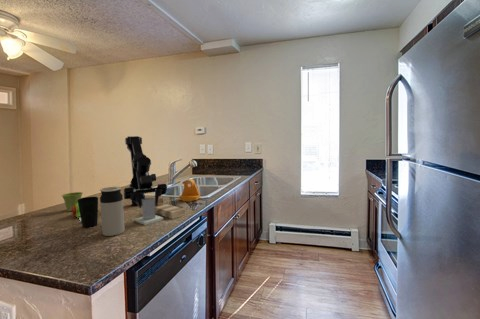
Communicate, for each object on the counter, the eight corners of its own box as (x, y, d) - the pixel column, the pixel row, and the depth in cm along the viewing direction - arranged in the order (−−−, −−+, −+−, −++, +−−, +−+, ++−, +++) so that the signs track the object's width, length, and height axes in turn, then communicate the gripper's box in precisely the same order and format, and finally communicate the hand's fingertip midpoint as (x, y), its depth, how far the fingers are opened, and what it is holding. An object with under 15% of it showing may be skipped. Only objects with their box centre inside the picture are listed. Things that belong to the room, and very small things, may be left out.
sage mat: (134, 220, 117) (134, 218, 117) (152, 216, 124) (152, 214, 124) (145, 225, 111) (144, 222, 111) (163, 219, 118) (163, 217, 118)
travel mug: (110, 238, 97) (106, 191, 96) (98, 234, 102) (95, 189, 100) (128, 231, 104) (126, 187, 103) (117, 228, 108) (114, 185, 107)
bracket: (178, 201, 152) (177, 181, 150) (183, 198, 159) (182, 179, 158) (196, 201, 150) (195, 181, 149) (200, 198, 157) (199, 179, 156)
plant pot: (58, 211, 135) (57, 195, 135) (76, 206, 144) (74, 191, 143) (71, 213, 132) (69, 196, 131) (87, 208, 141) (86, 192, 140)
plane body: (149, 211, 132) (148, 198, 131) (161, 208, 137) (161, 196, 137) (172, 218, 119) (171, 205, 118) (184, 215, 124) (184, 201, 124)
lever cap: (142, 217, 118) (141, 198, 117) (153, 216, 120) (152, 197, 120) (143, 220, 115) (142, 200, 114) (155, 218, 117) (154, 198, 117)
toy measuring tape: (87, 212, 134) (86, 199, 133) (91, 221, 118) (89, 207, 117) (72, 214, 130) (71, 201, 129) (74, 224, 114) (73, 210, 114)
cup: (78, 230, 107) (76, 201, 106) (80, 224, 113) (78, 198, 112) (99, 226, 110) (97, 199, 109) (100, 221, 117) (98, 195, 116)
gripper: (122, 170, 114) (126, 199, 106) (165, 166, 123) (172, 193, 115) (122, 184, 122) (126, 213, 113) (162, 180, 131) (168, 207, 122)
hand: (148, 206), depth 116 cm, fingers open, 7 cm apart
